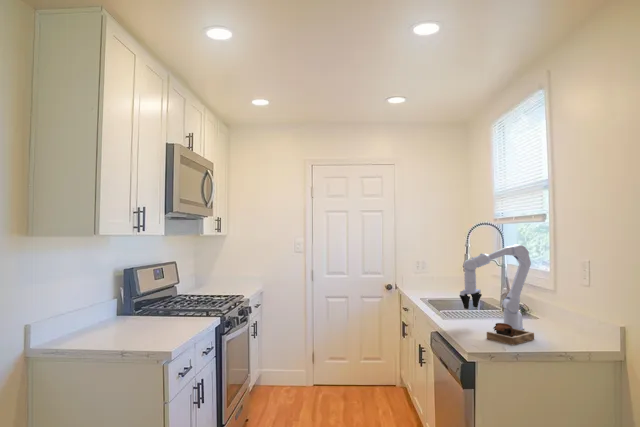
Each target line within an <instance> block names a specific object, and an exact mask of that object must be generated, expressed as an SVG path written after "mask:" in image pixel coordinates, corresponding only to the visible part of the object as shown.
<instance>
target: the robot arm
mask: <svg viewBox="0 0 640 427" xmlns="http://www.w3.org/2000/svg"><path fill="white" fill-rule="evenodd" d="M505 256H513V257H514V258H515V259H516V261H517V262H518V267H517V270H516V272H515V275H514V277H513V278H514V279H513V281H512V284H511V287H510V290H509V292H508V293H507V294H506V297H505V298H504V299H503V301H502V303H501V304H502V307H503V308H504V309H503V323H504V324H508V325H510V326H512V328H514V329H518V330H523V331H524V330H525V327H524V323H523V320H524V318H523V315H522V313H521V312H520V311H519V310H520V306H521V305H520V302H521V293H522V291H523V287H524V286H525V281H526V278H527V276H528V273H529V270H530V268H531V265H532V262H531V257H530V251H529V250H528V249H527V247H526V246H525V245H523V244H512V245H507V246H504V247H503V248H500V249H498V250H495V251H493V252H491V253H489V254H487V253H482V252H480V253H479V255H477V256H474V257H473V256H471V257H470V258H469V259H466V260H465V261H464V262H463V268H464V289H463V290H462V291H459V298H460V299H461V303H462V305H463V308H464V309H465V310H469V308H470V307H469V306H470V300H472V306H473V308H478V306H479V303H480V299H481V297H482V293H481V289H480V288H477V274H476V270H477V269H479V268H481V267H484V266H486V265H489V264H490V263H491V261H492V260H495V259H498V258H501V257H505Z"/></svg>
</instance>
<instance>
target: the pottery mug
mask: <svg viewBox="0 0 640 427" xmlns="http://www.w3.org/2000/svg"><path fill="white" fill-rule="evenodd" d="M492 329H494V330H493V331H494V332H496V334H501V335H505V336H509V337H514V334H515V330H514V329H513V328H512V326H510V325H508V324H504V322H496V323H495V325H494V326H493V328H492Z"/></svg>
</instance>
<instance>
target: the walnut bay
mask: <svg viewBox="0 0 640 427" xmlns="http://www.w3.org/2000/svg"><path fill="white" fill-rule="evenodd" d="M513 329H514V328H513ZM514 330H515V334H514V336H513V337H509V336H505V335H501V334H496V333H495V332H491V331H486V340H491V341H495V342H499V343H504V344H508V345H511V346H515V345H518V344H522V343H527V342H529V341H533V340H535V333H534V332H532V331H527V330H524V329H523V330H518V329H514Z"/></svg>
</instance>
